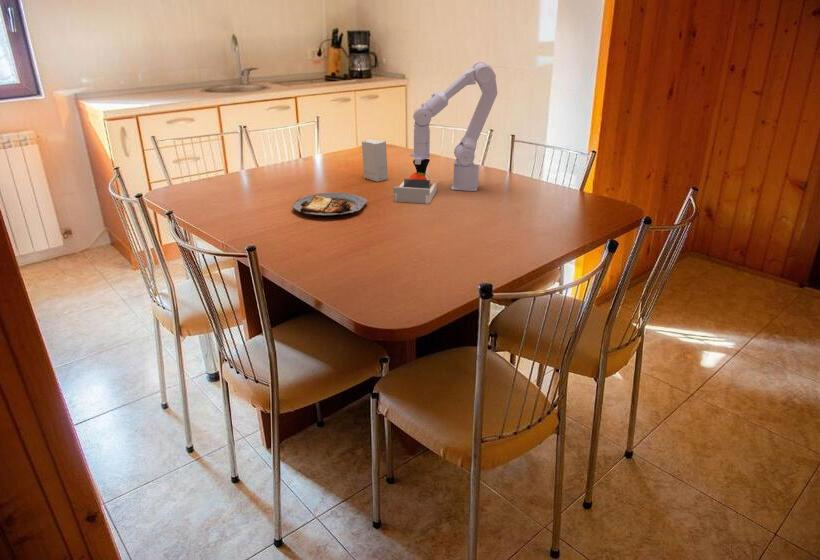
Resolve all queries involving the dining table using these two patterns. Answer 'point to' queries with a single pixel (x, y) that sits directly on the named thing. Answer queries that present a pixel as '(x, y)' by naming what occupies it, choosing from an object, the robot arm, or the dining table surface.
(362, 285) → the dining table surface
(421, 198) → the grey open tray
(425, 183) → the block
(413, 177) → the clementine
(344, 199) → the food plate
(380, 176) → the skincare box
